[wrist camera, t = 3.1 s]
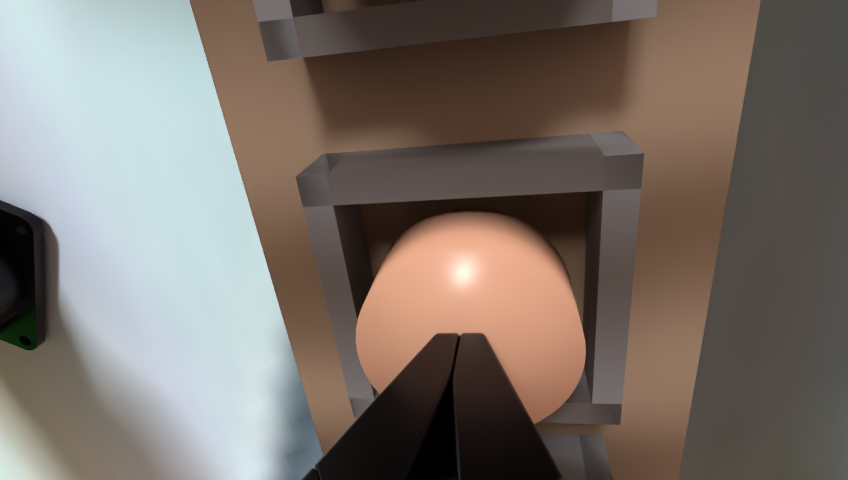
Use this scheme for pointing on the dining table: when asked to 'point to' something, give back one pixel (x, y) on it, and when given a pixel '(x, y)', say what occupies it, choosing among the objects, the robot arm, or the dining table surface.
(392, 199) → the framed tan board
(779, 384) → the dining table surface
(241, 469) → the dining table surface
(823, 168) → the dining table surface
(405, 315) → the button terracotta
